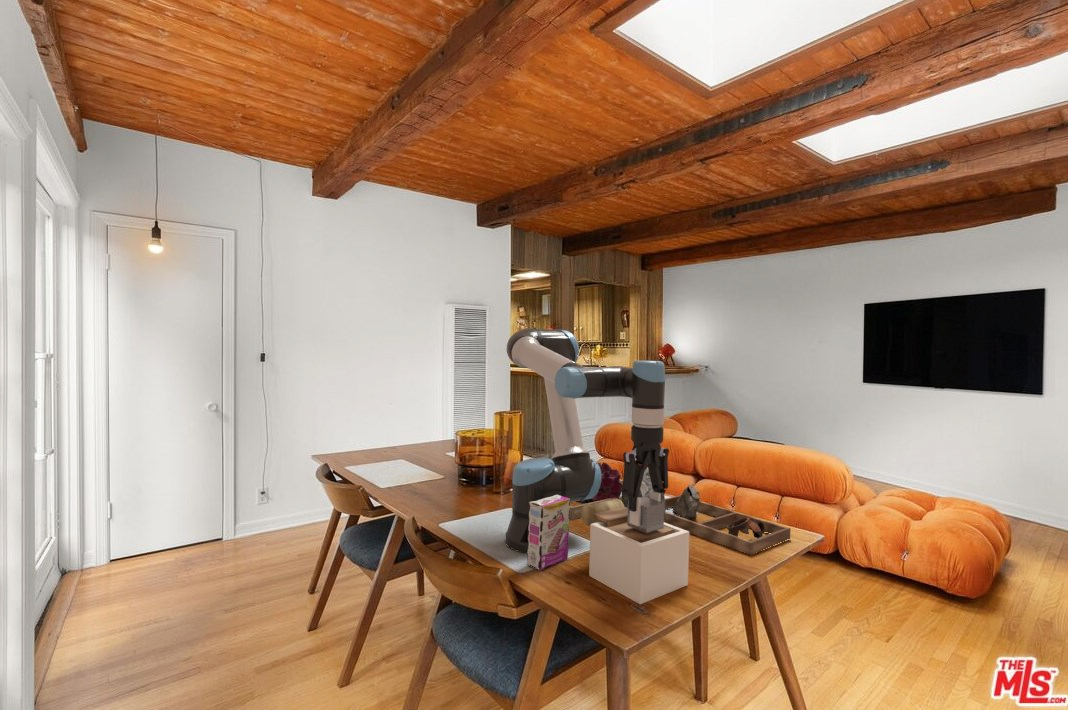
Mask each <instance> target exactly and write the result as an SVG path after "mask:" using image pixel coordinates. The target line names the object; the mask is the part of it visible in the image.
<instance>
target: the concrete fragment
mask: <svg viewBox="0 0 1068 710" xmlns="http://www.w3.org/2000/svg"><path fill="white" fill-rule="evenodd" d="M700 499H701V497H700V492H699V491H698V489H697V487H695V486H694V485H690V484H688V486H687V487H685V488H684V489H683V492H682V493H681V497H680V499H678V500H677V501H676V503H675V505H674V507H673V508H672V511H673V510H674V511H673V512H674V513H675V512H676V513H677V514H678V515H680V516H681V517H682V518H685V519H688V520H690V519H697V518H698V517H697V516H698V514H697V512H698V511H697V509H698V506H699V503H700V501H701V500H700ZM676 513H675V514H676ZM677 514H676V515H677ZM678 515H677V516H678ZM680 516H679V517H680Z"/></svg>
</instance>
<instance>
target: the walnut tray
mask: <svg viewBox="0 0 1068 710" xmlns="http://www.w3.org/2000/svg"><path fill="white" fill-rule="evenodd" d="M681 495H682V494H681ZM681 495H680V494H679V495H675V496H671V497H667V498H666V497H665V501H666V509H667V510H669V509H668V508H671V509H673V508H672V507H674V505H675V503H676V501H677V500H678V499H680V497H681ZM698 511H700V512H699V513H701V512H703V513H702V514H705V515H708V516H711V517H714V516H715V517H714V518H709V519H707V520H704V521H700V522H697V521H693V520H690V519H685V518H682V517H680V516H678V515H677V514H673V513H670V512H666V511H665V514H666V519H665V523H667V524H670V525H673V526H676V527H678V528H681V529H684V530H686V531H689V534H690V535H694V536H697V537H699V538H702V539H706V540H708V541H710V542H713V543H715V542H716V544H718V543H719V545H721V544H722V546H724V545H725V546H724V547H726V546H727V548H729V547H730V549H732V548H733V549H732V550H734V549H736V550H735V551H737V550H739V551H738V552H740V551H741V553H742V552H744V553H743V554H745V553H747V554H746V555H748V554H750V555H749V556H751V555H752V554H754V553H756V552H759V551H761V550H763V549H766V548H768V547H770V546H773V545H775V544H778V543H780V542H783V541H785V540H787V539H790V540H791V527H788V526H784V525H780V524H777V523H774V522H770V521H767V520H764V519H761V518H757V517H754V516H751V515H747V514H744V513H741V512H738V511H734V510H731V509H728V508H724V507H721V506H717V505H715V504H711V503H708V502H705V501H702V500H700V503H699V506H698V509H697V512H698ZM747 517H748V518H750V520H751V521H754V520H761V521H762V522H763V523H764V526H765V529H764V532H768V533H771V534H764V535H763V537H760V538H755V539H752V540H748V539H746V538H743V537H740V536H738V537H737V536H734V535H731V534H728V533H727V532H725V531H722V529H725V528H727V526H729V525H730V524H731V525H732V526H734V525H733V522H735V521H737V520H739V519H742V518H747ZM748 527H749V526H748ZM721 528H722V529H721ZM759 553H760V552H759ZM754 555H755V554H754ZM752 556H753V555H752Z"/></svg>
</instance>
